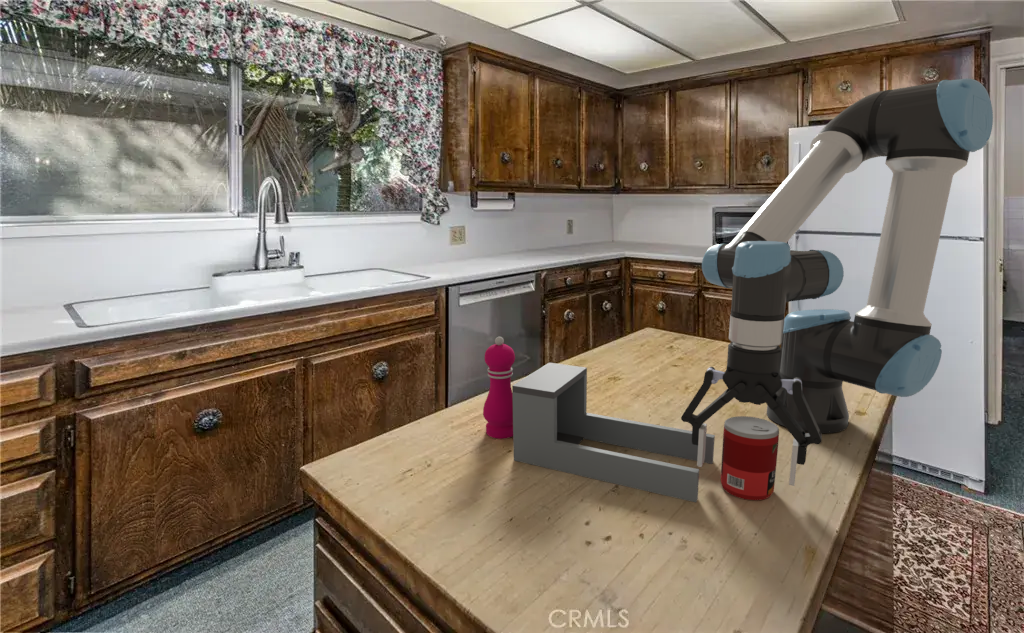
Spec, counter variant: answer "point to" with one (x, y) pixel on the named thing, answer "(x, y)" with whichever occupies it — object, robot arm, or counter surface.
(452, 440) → the counter surface
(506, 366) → the pepper mill
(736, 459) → the canned food
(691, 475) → the trap channel
